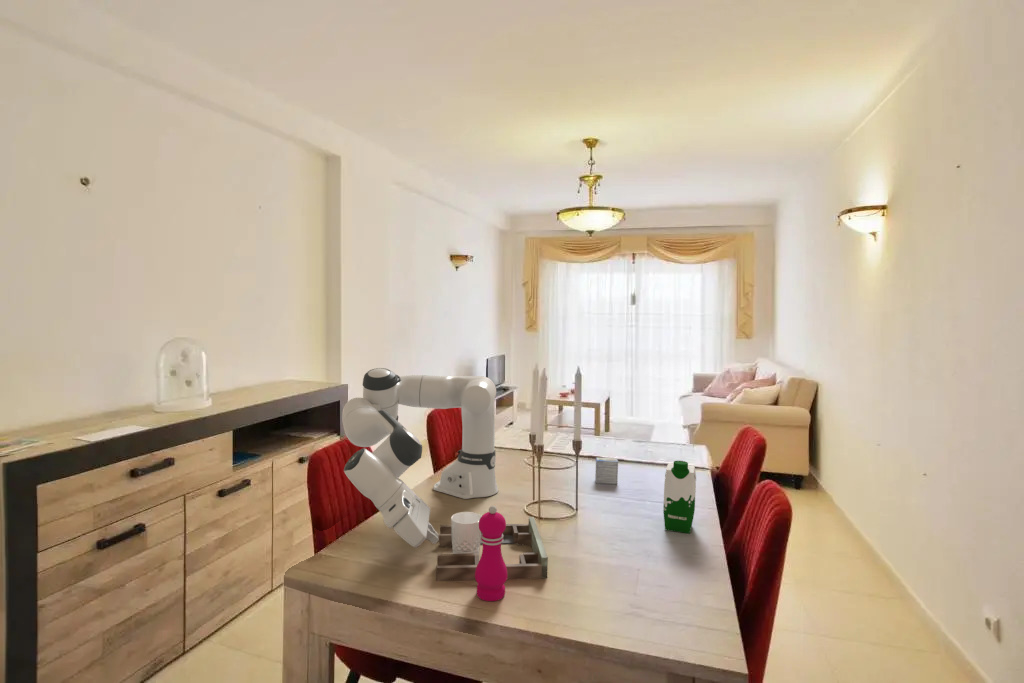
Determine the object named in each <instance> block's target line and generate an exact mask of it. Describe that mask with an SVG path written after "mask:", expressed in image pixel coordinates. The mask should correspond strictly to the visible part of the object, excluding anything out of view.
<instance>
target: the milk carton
mask: <svg viewBox="0 0 1024 683" xmlns="http://www.w3.org/2000/svg"><path fill="white" fill-rule="evenodd" d="M696 474H697V473H696V467H695V465H689V463H688V462H687V461H683V460H674V461H673V463H672V462H668V464H667V465H666V468H665V472H664V477H665V478H664V487H663V488H664V489H663V510H662V511H663V522H664V523H663V524H664V531H670V532H677V533H681V534H682V533H684V534H689V535H690V534H691V531H692V526H693V520H694V516H695V509H696V492H697V491H696V490H697V489H696V488H697V485H696V484H697V475H696Z"/></svg>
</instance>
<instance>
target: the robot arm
mask: <svg viewBox="0 0 1024 683" xmlns="http://www.w3.org/2000/svg"><path fill="white" fill-rule="evenodd" d="M362 388H363V389H362V397H354V398H352V399H349V400H348V401H347V402H346V403H345V404H344V405H343V409H342V414H341V421H342V427H343V431H344V433H345V436H346V438H347V439H348V441H349V442H350V443H351V444H352V445H354V446H356V447H361V449H359V450H357V451H355V453H353V454H352V456H351V457H350V458H349V459H348V461H346V463H345V465H344V469H343V472H344V474H345V475H346V477H347V478H348V480H349V481H350V482H351V483H352V484H353V486H354V487H355V488H356V489H357V491H359V492H360V493H361V494H362V495H363V496H364V497H366V498H367V499H368V500H371V502H372V503H373V505H374V506H375V507H376V509H377V510H378V511H379V512H380V513H381V515H382V518H383V523H384V525H385V526H386V527H387V528H388V529H393V530H394V531H395V533H396V534H397V535H398V536H399V537H400V538H401V539H402V540H404V542H406V543H407V544H408V545H410V546H411V547H413V548H418V547H419V546H420V545H422V543H424V542H425V541H426V540H428V541H429V542H431V544H432V545H435V544H437V543H439V534H440V533H438V532H437V531H436V529H435V528H434V526H433V525H432V524H431V523H430V522H429V521H430V514H431V508H430V506H429V505H428V504H427V502H425V501H424V500H422V498H420V497H419V496H418V495H417V494H416V493H415V491H414V490H413V489H412V488H410V487H409V485H407V483H406V482H404V481H403V480H402V479H401V478H400V477H401V476H402V475H403V474H404V473H405V472H406V471H407V470H408V469H409V468H410V467H412V466H413V465H414V464H416V463H417V462H418V461H419V460H420V459H421V458H422V456H423V455H422V454H423V444H422V443H421V441H420V439H419V438H418V437H417V435H415V434H414V432H411V431H410V430H408V429H406V427H404V426H403V425H402V423H401V422H399V415H398V414H399V405H402V406H406V407H413V408H423V409H441V410H446V409H447V410H448V409H454V408H455V409H456V408H458V409H459V408H460V409H461V422H462V423H461V425H462V436H461V437H462V441H461V442H462V445H461V449H459V450H458V451H457V452H455V455H454V456H455V457H457V459H456V460H455V461H453V462H452V463H451V464H449V465H448V466H446V467H445V468H444V469H443V470H442V472H441V475H440V480H438V481H437V482H436V483H435V484H434V485H433V491H436V492H439V493H444V494H447V495H451V496H453V497H457V498H460V499H464V500H465V499H466V500H467V499H473V498H485V497H486V498H487V497H490V496H493V495H496V494H497V493H498V492H499V488H498V484H497V480H496V470H495V469H496V468H495V467H496V460H497V458H496V449H495V439H496V438H495V437H496V436H495V434H496V433H495V432H496V431H495V430H496V427H495V420H496V419H495V403H496V402H495V400H496V396H497V386H496V384H495V383H494V382H493V380H491V379H490V378H489V377H487V376H480V375H456V376H455V375H454V376H451V375H450V376H445V375H442V376H440V375H423V374H422V375H421V374H420V375H419V374H416V375H415V374H414V375H413V374H412V375H402V376H399V375H398V374H396V373H395V372H394V371H392V370H390V369H388V368H384V367H377V368H372V369H370V370H368V371H366V373H365V374H364V375H363V378H362ZM386 437H387V438H386ZM385 438H386V439H385ZM384 439H385V440H384ZM382 440H384V441H383V442H381V441H382ZM380 442H381V444H379V445H378V446H377V447H376V448H375V449H373V451H372V452H371V451H370V450H368V449H367V448H368V447H372V446H375V445H377V444H378V443H380Z"/></svg>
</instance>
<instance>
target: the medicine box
mask: <svg viewBox="0 0 1024 683" xmlns="http://www.w3.org/2000/svg"><path fill="white" fill-rule="evenodd" d="M618 472H619V460H618V458H615V457H595V477H594V478H595V484H600V485H601V484H603V485H618V478H619V477H618V475H619V474H618Z"/></svg>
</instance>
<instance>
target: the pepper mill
mask: <svg viewBox="0 0 1024 683" xmlns="http://www.w3.org/2000/svg"><path fill="white" fill-rule="evenodd" d="M506 524H507V522H506V519H505V516H504V515H502V513H500V512H497V507H496V506H495V505H490V506H489V507H488V512H485V513H483V515H481V518H480V520H479V530H480V531H481V532H482V534H481V542H482V543H483V544H482V552H481V554H480V555H481V556H480V557H479V563H478V565H477V567H476V570H475V579H476V580H475V581H476V583H477V586H476V596H477V597H478V598H479V599H480V600H482V601H486V602H497V601H499V600H500V601H501V600H502V599H503V598H504V597H505V595H506V586H505V583H506V582H507V580H508V579H507V577H508V576H507V568H506V565H505V564H506V562H505V561H504V558H503V555H502V544H501V543H502V542H503V534H502V533H503V532H504V530H505V528H506Z"/></svg>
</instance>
